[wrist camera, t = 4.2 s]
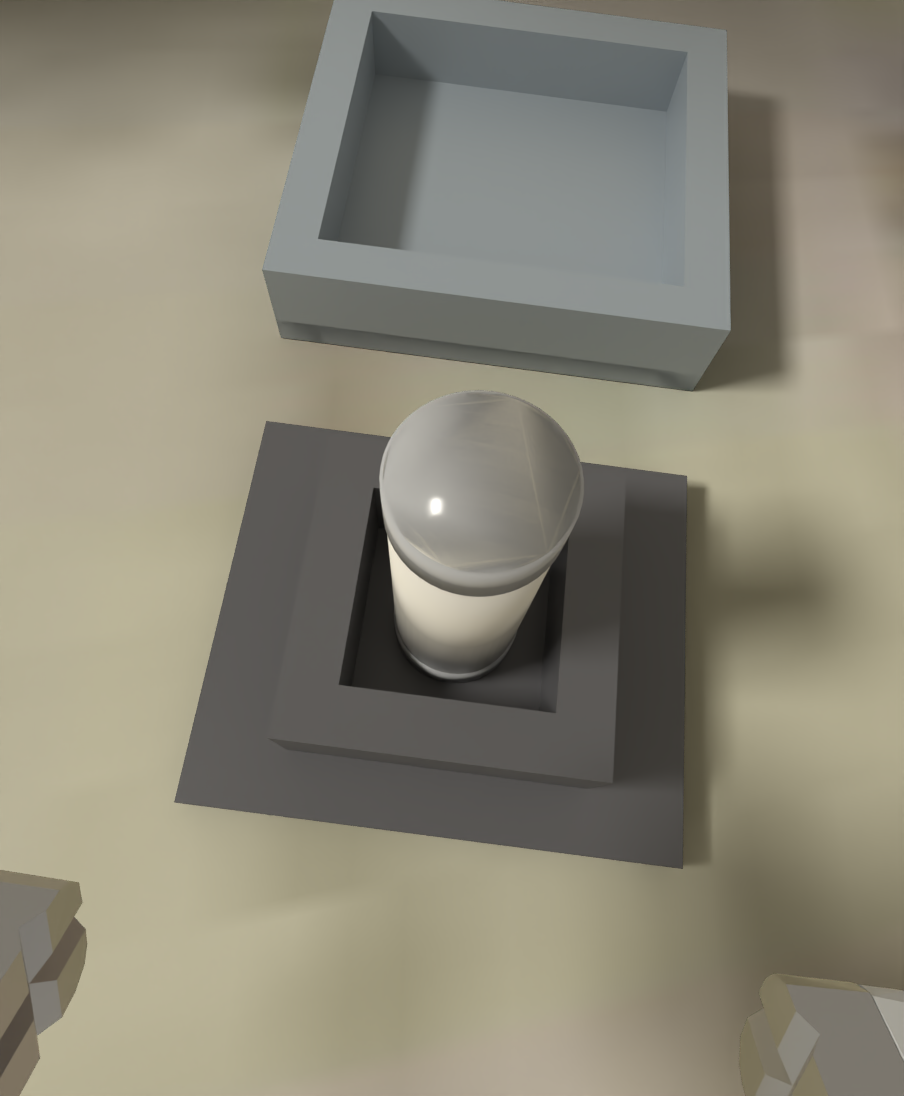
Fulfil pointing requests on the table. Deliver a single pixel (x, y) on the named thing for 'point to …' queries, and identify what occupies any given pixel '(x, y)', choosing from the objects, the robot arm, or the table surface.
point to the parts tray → (511, 191)
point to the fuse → (473, 525)
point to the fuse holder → (437, 707)
